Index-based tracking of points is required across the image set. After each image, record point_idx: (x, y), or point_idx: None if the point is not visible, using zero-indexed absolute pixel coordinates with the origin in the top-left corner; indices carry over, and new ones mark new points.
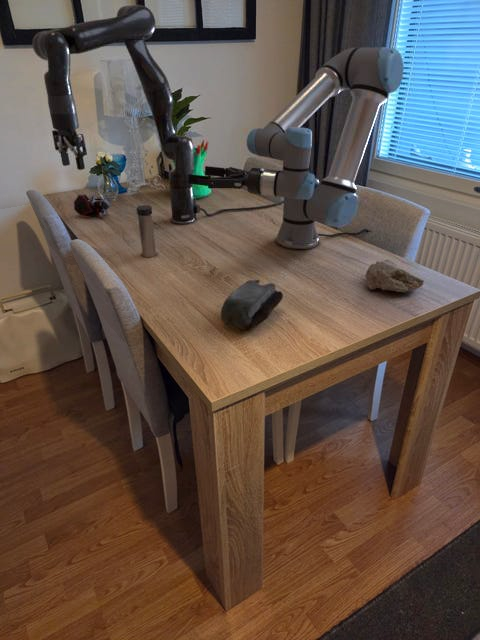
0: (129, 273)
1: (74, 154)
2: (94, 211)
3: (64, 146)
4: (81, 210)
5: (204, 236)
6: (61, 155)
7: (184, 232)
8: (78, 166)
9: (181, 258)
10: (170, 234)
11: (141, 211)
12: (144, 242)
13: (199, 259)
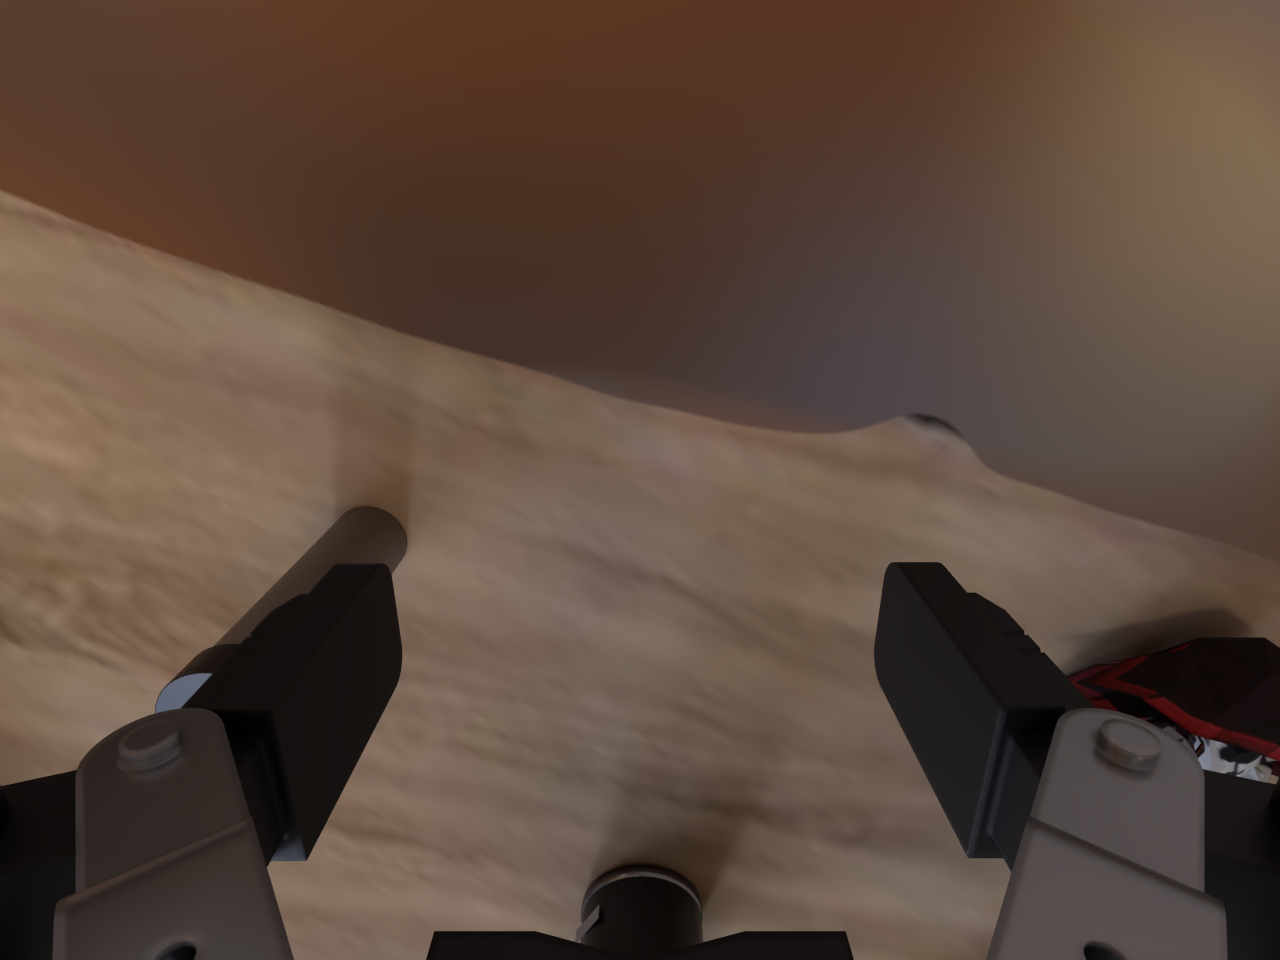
0: (211, 312)
1: (216, 763)
2: (1149, 711)
3: (834, 949)
4: (1195, 652)
5: (388, 840)
6: (1004, 679)
7: (504, 819)
8: (311, 594)
9: (216, 611)
10: (534, 765)
11: (183, 670)
12: (314, 548)
13: (148, 656)
